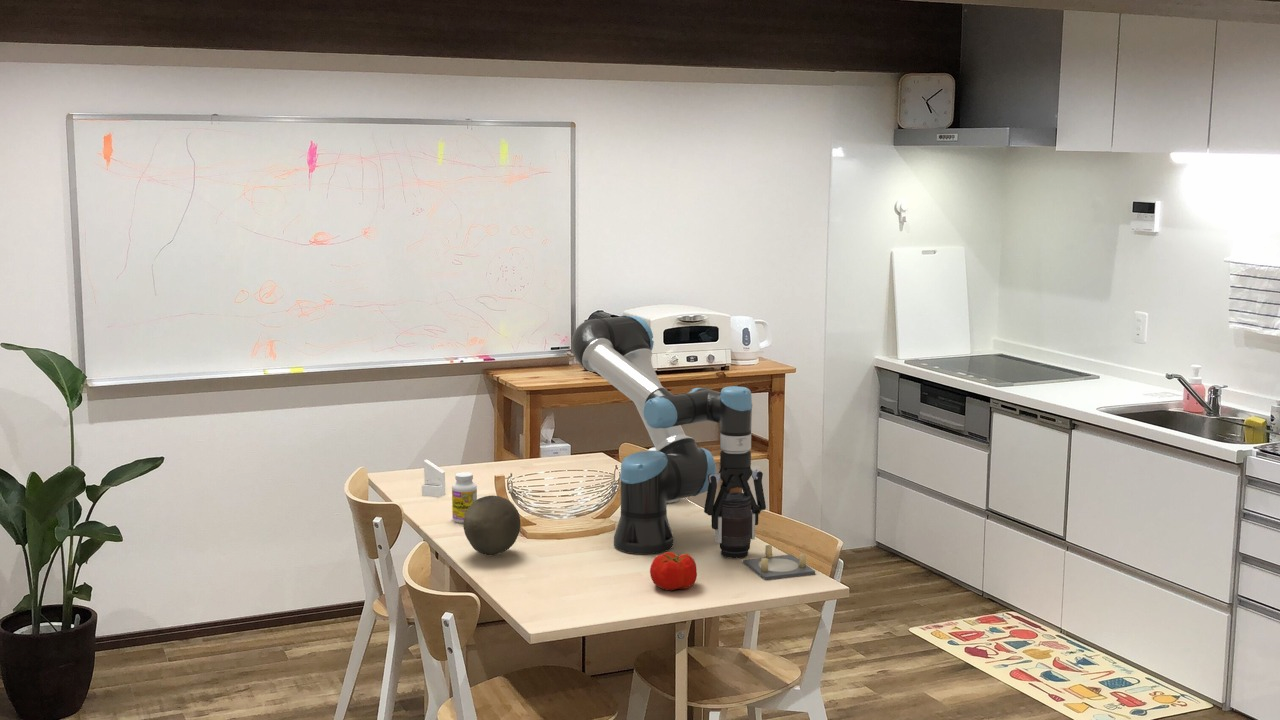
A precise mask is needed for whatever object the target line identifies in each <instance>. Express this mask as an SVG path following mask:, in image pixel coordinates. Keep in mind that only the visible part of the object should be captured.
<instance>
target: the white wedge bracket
mask: <svg viewBox="0 0 1280 720" xmlns="http://www.w3.org/2000/svg"><path fill="white" fill-rule="evenodd" d="M423 472H424V473H423V474H424V475H423V476H424V477H423V478H424V480H423V481H424V482H423V484H421V496H422V497H432V498H433V497H434V498H441V497H443V496H445V495H446V471H445V470H443V469H441V468H440V467H439V466H437V465H436V464H434V463H433V462H432V461H430V460H428V459H424V460H423Z"/></svg>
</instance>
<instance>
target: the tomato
mask: <svg viewBox="0 0 1280 720" xmlns="http://www.w3.org/2000/svg"><path fill="white" fill-rule="evenodd" d="M649 574H650V578H651V581H652V583H653V584H654V585H655V586H657V587H659V588H661V589H663V590H666V591H675V590H678V589H679V590H685V589H686V590H687V589H688V588H690V587H692V586H693V585H694V584H695V583H696V580H697V576H698V572H697V563H696V562H695V559H694V558H693V557H692V556H691V555H689V554H688V553H683V554H680V555H677V554H676V553H675V552H672V551H664V552H661V554H659V555H657V556H656V557H654V559H653V561H652V563H651V565H650V567H649Z"/></svg>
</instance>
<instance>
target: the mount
mask: <svg viewBox="0 0 1280 720" xmlns="http://www.w3.org/2000/svg"><path fill="white" fill-rule="evenodd" d="M742 564H744V566H746V567H747V568H749V569H750V571H752V572H753V573H755V574H756V575H758V576H759V577H760V578H761V579H762V580H764V581H771V580H778V579H787V578H795V577H804V576H812V575H816V571H815V569H814V568H812V567H810V566H809V565H807V554H806V553H799V557H796V556H795V555H794V554H792V553H790V554H782V555H773V545H771V544H767V545H765V556H764V557H756V558H748V559H747V558H746V559H745V558H744V559H742Z"/></svg>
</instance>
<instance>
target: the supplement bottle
mask: <svg viewBox="0 0 1280 720" xmlns="http://www.w3.org/2000/svg"><path fill="white" fill-rule="evenodd" d="M454 477H455V480H456V481H455V482H454V483H453V484H452V487H451V497H452V498H451V501H452V502H451V504H452V505H451V508H452V511H451V512H452V514H451V515H452V521H454V522H455V523H458V524H459V523H460V524H463V522H464V517H465V514H466V512H467V510H468V508H469V507H470V505H471V504H472V503H473V502H474V501H476V500H477V499H478V488H477V487H478V486H477V484H476V482H474V481H473V479H474V475H473V473H472V472H470V471H463V472H456V474H455V475H454Z"/></svg>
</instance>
